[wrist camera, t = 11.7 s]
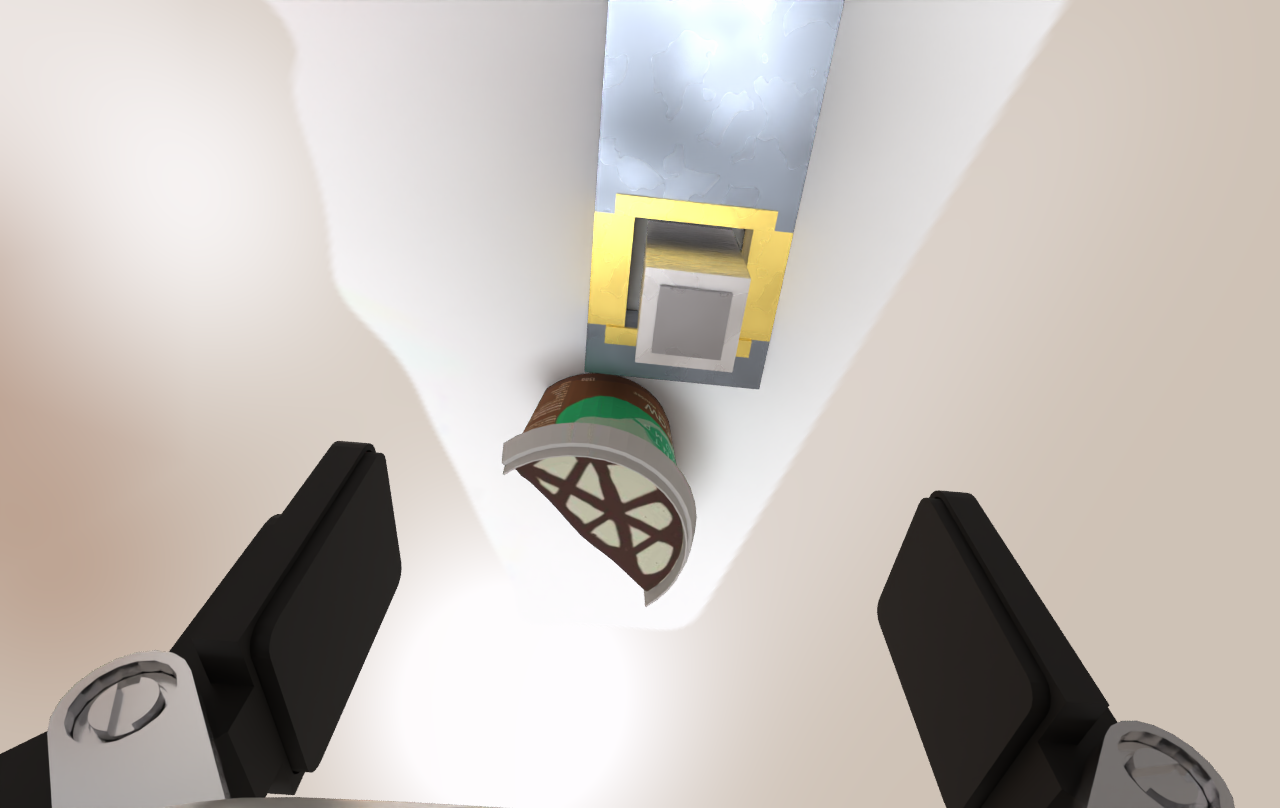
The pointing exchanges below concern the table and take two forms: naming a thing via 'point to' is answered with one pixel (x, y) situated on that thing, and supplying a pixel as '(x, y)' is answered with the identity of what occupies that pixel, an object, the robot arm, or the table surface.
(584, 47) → the table surface
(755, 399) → the table surface
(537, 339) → the table surface
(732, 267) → the grey rectangular block
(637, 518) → the food container
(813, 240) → the table surface
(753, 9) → the grey peg hole board
